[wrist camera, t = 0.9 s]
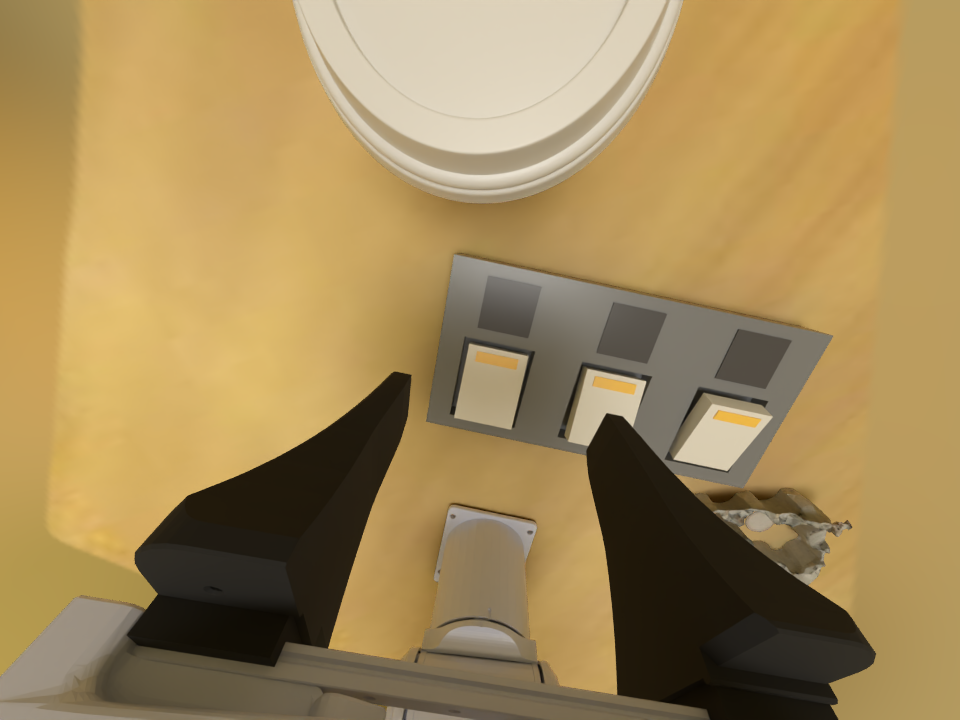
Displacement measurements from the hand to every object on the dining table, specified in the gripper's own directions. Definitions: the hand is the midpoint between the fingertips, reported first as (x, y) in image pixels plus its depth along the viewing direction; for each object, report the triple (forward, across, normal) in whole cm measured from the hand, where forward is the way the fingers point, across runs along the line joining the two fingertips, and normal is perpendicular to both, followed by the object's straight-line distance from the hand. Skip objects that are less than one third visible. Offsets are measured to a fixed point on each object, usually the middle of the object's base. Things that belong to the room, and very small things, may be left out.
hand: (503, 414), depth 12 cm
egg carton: (+9, -24, +15) cm, 30 cm away
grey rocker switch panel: (+12, -8, +4) cm, 15 cm away
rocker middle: (+9, -8, +6) cm, 13 cm away
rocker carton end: (+9, -16, +6) cm, 19 cm away
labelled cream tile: (+9, 0, +6) cm, 11 cm away
